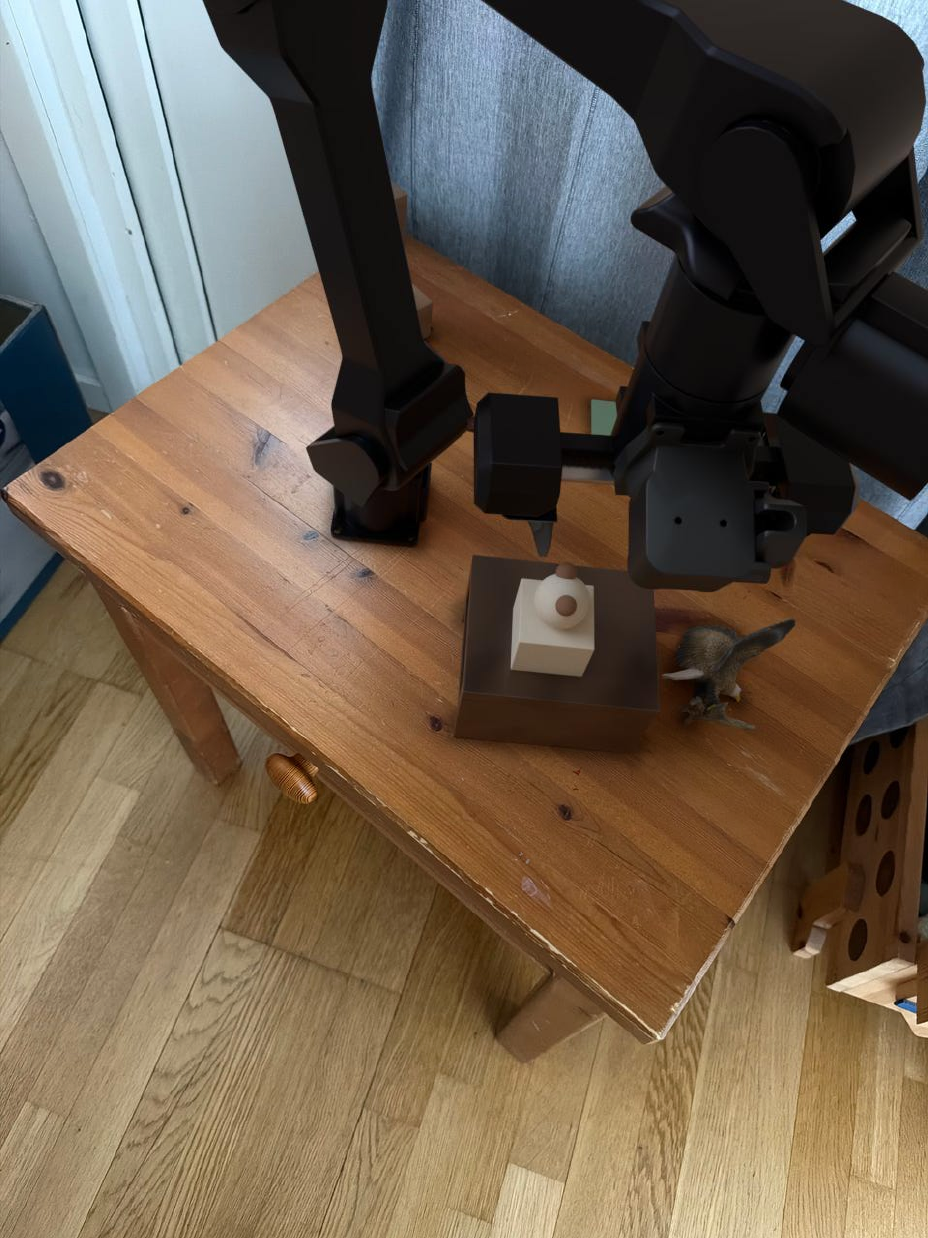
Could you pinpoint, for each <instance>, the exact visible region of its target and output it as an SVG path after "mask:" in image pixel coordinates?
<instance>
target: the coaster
mask: <svg viewBox="0 0 928 1238" xmlns="http://www.w3.org/2000/svg"><path fill="white" fill-rule="evenodd" d="M616 418H617V411H616V402H615V401H610V400H601V399H591V400H590V434H596V435H611V432H612V429H613V426H614V423H615V421H616Z"/></svg>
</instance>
